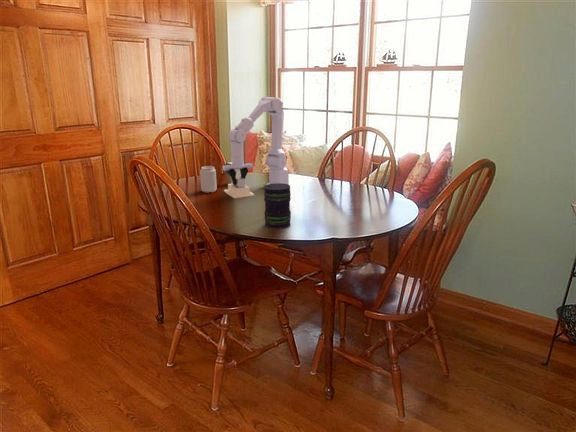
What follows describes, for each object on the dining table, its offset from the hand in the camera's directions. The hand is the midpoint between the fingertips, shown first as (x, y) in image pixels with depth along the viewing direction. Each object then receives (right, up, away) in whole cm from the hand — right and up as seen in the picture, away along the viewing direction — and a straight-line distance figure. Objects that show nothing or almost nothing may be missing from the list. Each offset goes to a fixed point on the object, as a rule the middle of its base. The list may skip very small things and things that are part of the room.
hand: (238, 184), depth 224 cm
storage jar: (+20, -19, -45) cm, 52 cm away
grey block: (0, -3, +1) cm, 3 cm away
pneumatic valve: (-3, +2, +23) cm, 24 cm away
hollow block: (0, -4, +1) cm, 5 cm away
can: (-15, -3, +7) cm, 17 cm away
